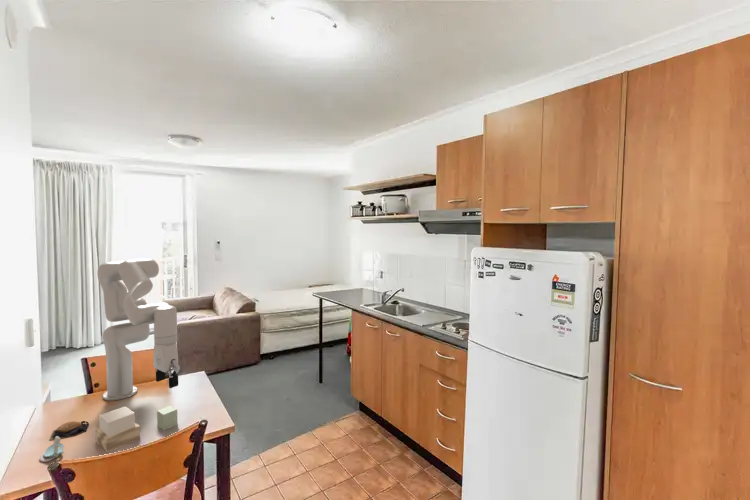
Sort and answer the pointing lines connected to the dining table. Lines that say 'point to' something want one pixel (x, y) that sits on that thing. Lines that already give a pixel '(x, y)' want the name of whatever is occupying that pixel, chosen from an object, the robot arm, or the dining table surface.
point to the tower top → (117, 421)
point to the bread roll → (69, 429)
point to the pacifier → (53, 450)
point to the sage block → (167, 417)
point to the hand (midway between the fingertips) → (167, 383)
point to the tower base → (117, 438)
